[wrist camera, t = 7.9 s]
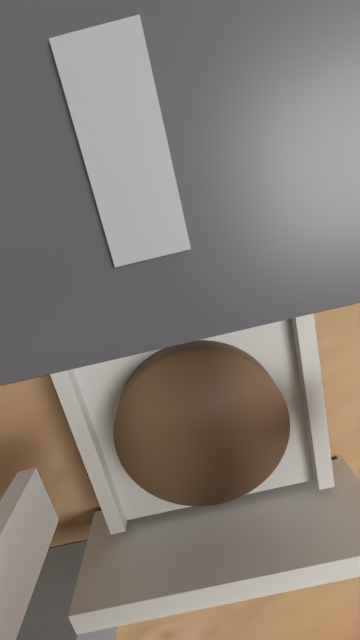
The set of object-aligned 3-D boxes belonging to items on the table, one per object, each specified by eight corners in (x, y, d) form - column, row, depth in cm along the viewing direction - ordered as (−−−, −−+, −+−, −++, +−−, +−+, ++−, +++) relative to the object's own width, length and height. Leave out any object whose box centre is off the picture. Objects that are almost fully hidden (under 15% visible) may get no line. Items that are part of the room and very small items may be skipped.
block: (22, 554, 21) (-33, 679, 15) (99, 537, 21) (72, 658, 15) (49, 608, 22) (7, 742, 17) (120, 593, 22) (104, 723, 16)
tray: (1, 270, 16) (-85, 294, 10) (313, 194, 15) (391, 179, 10) (103, 533, 20) (80, 641, 15) (344, 481, 20) (409, 574, 14)
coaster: (142, 495, 18) (139, 521, 16) (98, 361, 15) (90, 376, 14) (288, 463, 17) (300, 486, 16) (265, 322, 15) (276, 333, 14)
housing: (-120, -51, 12) (-368, -288, 7) (271, -160, 12) (366, -514, 6) (30, 338, 17) (-41, 397, 11) (319, 270, 16) (400, 295, 11)
